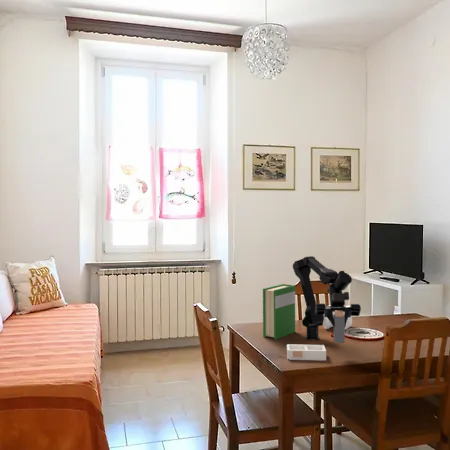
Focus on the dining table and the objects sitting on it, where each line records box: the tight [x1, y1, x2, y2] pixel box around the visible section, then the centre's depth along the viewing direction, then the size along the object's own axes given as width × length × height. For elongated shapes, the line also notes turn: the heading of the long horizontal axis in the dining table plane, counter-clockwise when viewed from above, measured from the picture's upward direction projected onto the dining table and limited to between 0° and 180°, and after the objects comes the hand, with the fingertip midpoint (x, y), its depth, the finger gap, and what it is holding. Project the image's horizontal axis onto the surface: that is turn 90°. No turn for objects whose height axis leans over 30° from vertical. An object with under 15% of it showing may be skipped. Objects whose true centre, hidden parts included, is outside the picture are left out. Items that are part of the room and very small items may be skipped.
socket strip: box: [286, 343, 327, 361], centre depth 202 cm, size 9×16×4 cm, turn 84°
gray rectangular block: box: [333, 310, 346, 344], centre depth 200 cm, size 4×4×13 cm
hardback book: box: [262, 283, 296, 340], centre depth 237 cm, size 18×7×24 cm, turn 139°
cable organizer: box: [323, 305, 353, 330], centre depth 248 cm, size 15×11×12 cm
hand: (339, 326), depth 198 cm, fingers closed on gray rectangular block, 4 cm apart
